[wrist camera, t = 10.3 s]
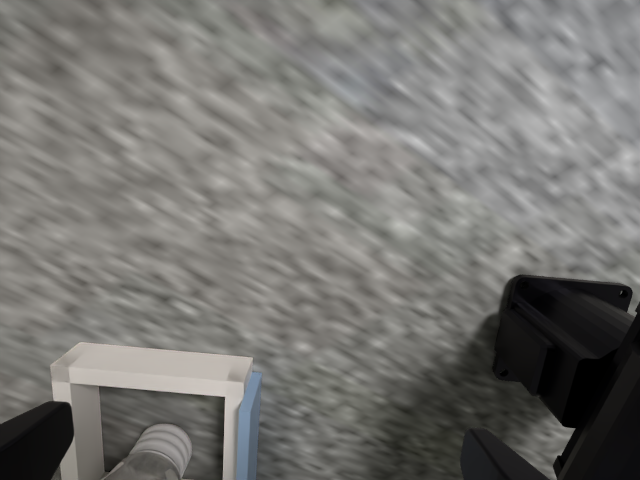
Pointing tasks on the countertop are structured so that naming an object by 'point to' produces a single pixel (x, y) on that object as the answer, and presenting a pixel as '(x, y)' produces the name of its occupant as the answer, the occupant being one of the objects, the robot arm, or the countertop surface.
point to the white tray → (159, 375)
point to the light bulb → (156, 455)
